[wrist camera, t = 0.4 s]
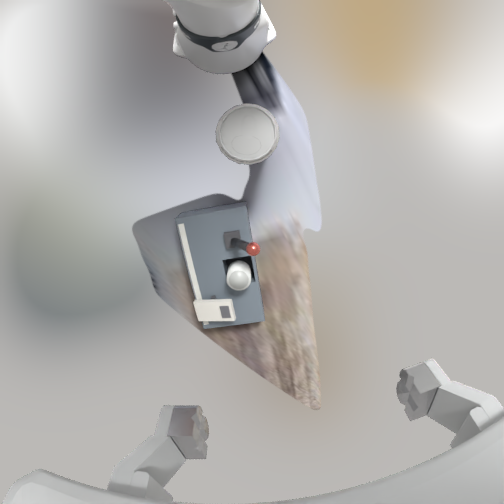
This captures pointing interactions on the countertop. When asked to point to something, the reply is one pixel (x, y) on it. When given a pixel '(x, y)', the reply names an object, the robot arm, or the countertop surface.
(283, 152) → the countertop surface
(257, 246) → the lever
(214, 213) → the console
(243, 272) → the button
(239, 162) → the supplement can
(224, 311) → the rocker
